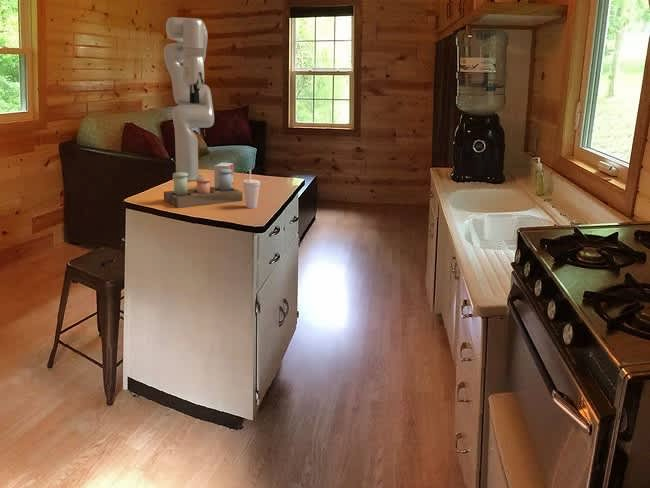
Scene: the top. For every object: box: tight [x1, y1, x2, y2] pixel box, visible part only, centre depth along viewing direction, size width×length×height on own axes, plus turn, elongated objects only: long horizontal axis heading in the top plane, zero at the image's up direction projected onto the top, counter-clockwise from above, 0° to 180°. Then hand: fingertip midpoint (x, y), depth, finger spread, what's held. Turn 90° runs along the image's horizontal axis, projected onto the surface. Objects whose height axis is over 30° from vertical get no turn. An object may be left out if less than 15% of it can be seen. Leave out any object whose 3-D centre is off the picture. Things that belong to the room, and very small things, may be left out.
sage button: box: [172, 171, 189, 196], centre depth 228 cm, size 5×5×8 cm
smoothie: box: [242, 168, 261, 209], centre depth 227 cm, size 6×6×14 cm
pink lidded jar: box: [195, 176, 212, 194], centre depth 234 cm, size 5×5×8 cm
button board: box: [163, 186, 243, 209], centre depth 235 cm, size 13×26×3 cm, turn 127°
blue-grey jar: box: [218, 169, 232, 191], centre depth 239 cm, size 5×5×8 cm
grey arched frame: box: [213, 162, 235, 189], centre depth 254 cm, size 8×6×10 cm
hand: (194, 103), depth 239 cm, fingers closed
